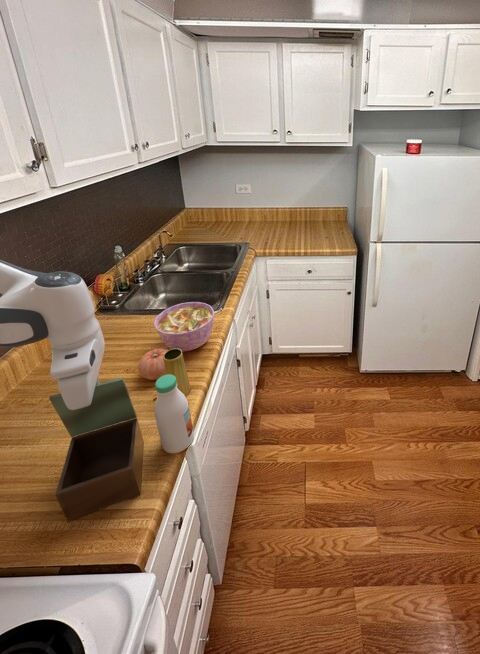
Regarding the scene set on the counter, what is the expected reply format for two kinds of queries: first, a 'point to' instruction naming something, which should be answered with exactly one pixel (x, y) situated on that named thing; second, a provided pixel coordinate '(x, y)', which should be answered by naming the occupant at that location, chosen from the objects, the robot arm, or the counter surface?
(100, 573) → the counter surface
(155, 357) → the orange pumpkin
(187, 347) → the bowl of food
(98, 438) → the box
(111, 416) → the lid
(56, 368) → the robot arm
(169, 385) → the milk bottle
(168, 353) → the vase
